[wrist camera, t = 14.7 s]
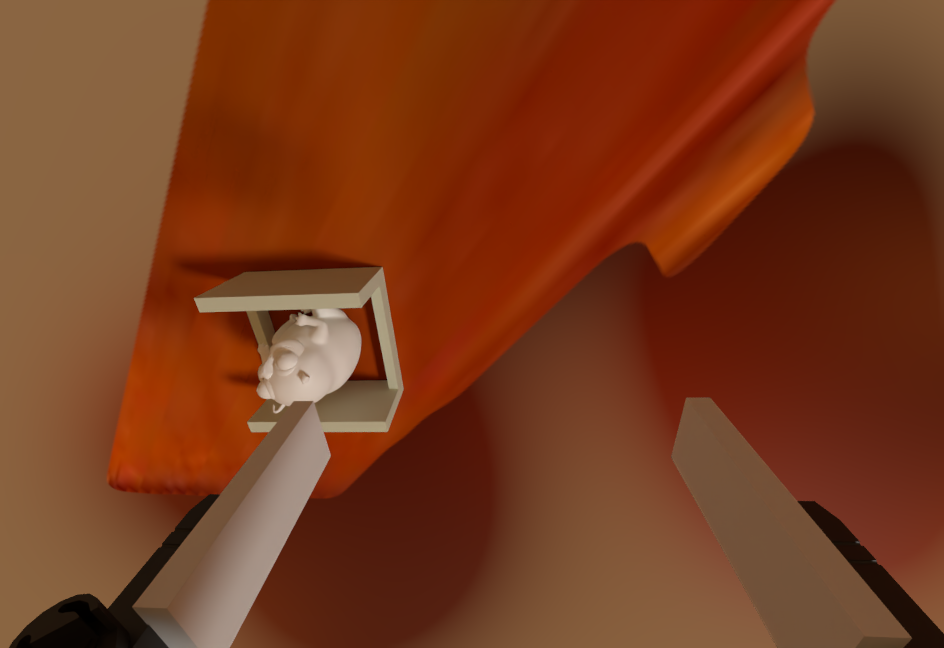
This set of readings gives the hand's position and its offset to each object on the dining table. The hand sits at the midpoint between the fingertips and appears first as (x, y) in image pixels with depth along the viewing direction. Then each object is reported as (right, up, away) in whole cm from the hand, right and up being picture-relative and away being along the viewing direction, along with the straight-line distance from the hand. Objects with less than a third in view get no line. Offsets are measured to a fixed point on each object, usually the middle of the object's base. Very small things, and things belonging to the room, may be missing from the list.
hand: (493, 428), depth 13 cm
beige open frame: (-19, +2, +32) cm, 37 cm away
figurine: (-18, +3, +32) cm, 37 cm away
